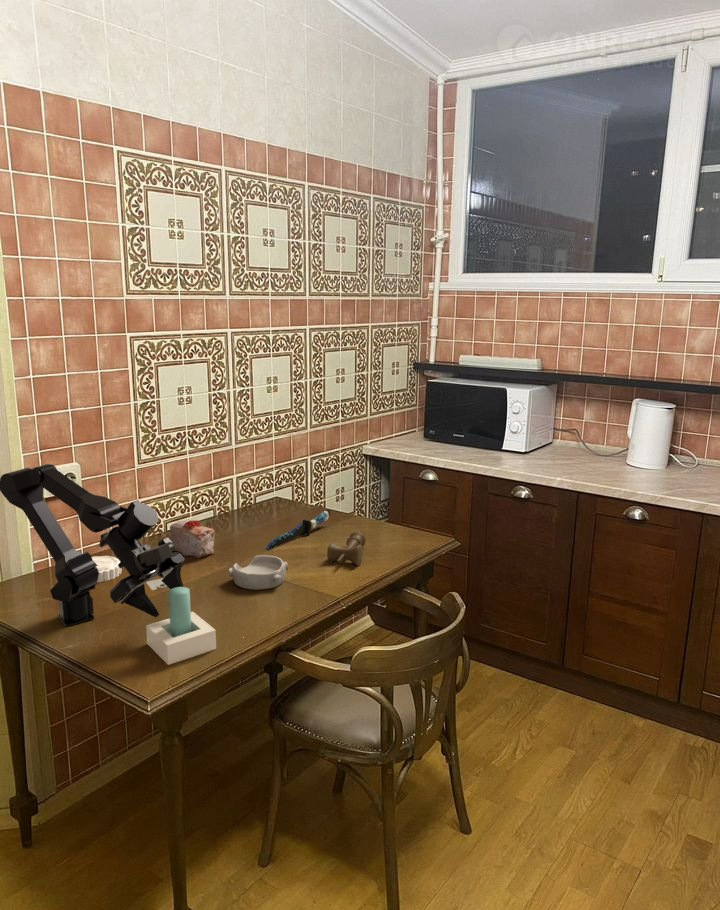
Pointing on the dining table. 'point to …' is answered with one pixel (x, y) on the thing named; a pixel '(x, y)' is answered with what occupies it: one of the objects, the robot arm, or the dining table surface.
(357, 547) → the kendama
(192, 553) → the food item
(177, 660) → the well block
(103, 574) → the mooncake
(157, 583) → the mounting bracket
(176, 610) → the teal dowel
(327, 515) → the knife
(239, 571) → the dish
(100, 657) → the dining table surface
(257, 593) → the dining table surface
